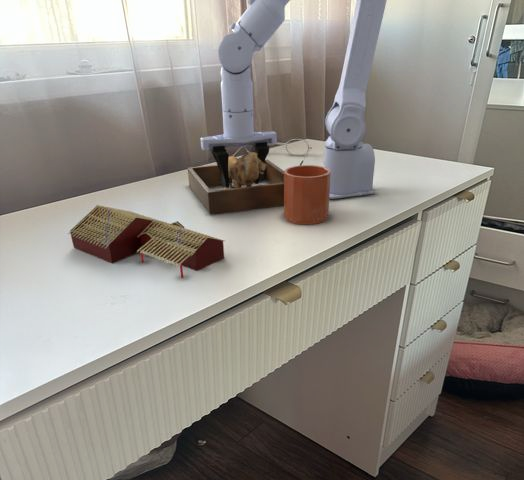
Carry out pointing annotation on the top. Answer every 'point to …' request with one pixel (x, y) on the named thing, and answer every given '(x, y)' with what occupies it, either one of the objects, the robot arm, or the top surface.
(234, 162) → the lion figurine
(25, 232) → the top surface
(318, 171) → the cup
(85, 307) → the top surface
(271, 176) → the wooden frame
